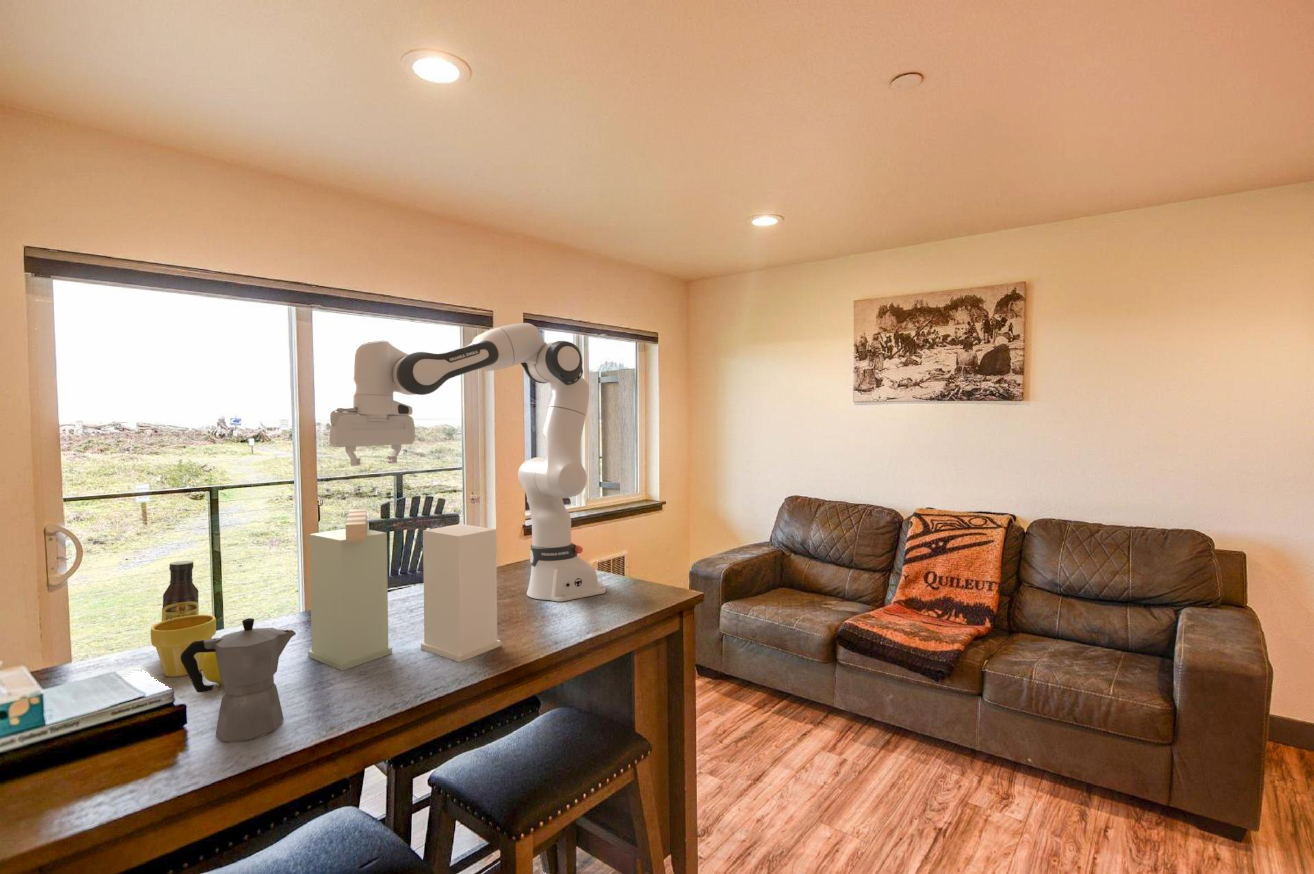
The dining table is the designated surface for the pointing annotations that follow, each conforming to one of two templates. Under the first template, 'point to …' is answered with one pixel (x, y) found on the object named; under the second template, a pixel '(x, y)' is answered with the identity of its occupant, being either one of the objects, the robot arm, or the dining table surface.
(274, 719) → the coffeepot
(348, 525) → the beech block
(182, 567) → the sauce bottle
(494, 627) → the white pedestal
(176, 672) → the plant pot
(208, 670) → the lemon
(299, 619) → the dining table surface
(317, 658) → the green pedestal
